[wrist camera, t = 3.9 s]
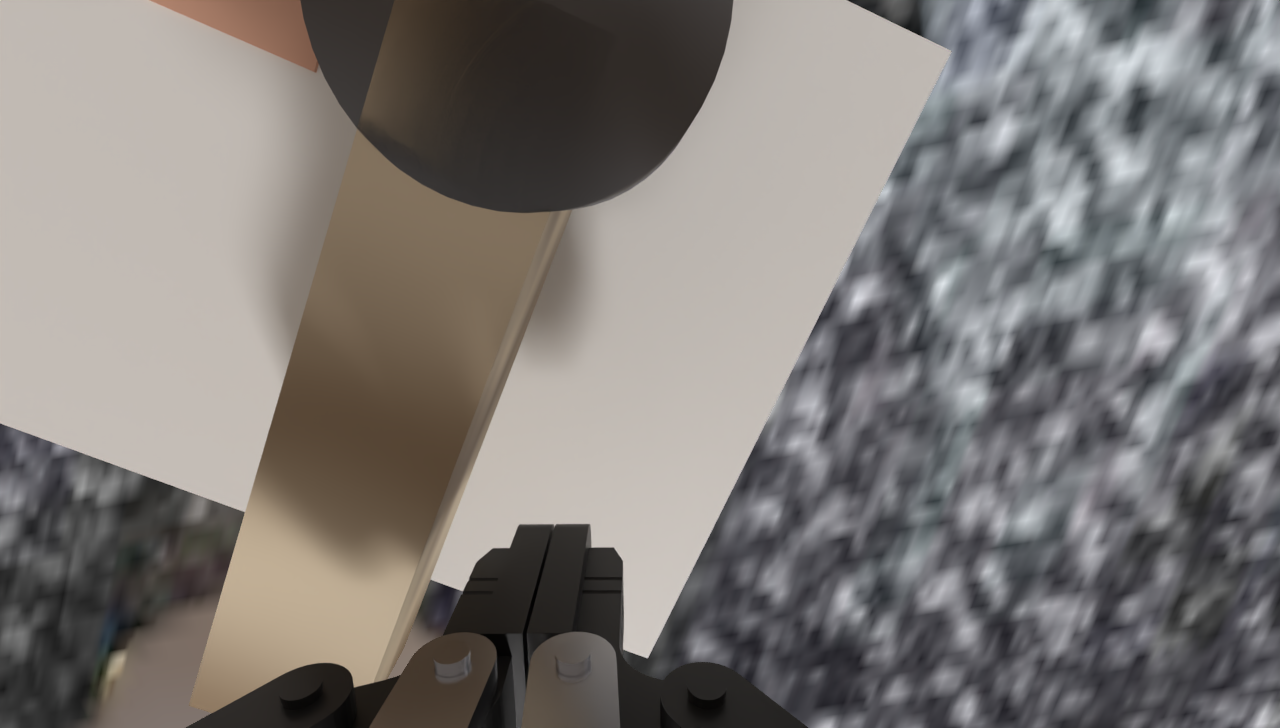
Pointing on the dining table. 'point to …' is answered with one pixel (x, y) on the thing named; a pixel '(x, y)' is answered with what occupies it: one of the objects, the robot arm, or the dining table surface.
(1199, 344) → the dining table surface
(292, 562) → the wooden handled scoop
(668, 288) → the panel with salmon stripe
